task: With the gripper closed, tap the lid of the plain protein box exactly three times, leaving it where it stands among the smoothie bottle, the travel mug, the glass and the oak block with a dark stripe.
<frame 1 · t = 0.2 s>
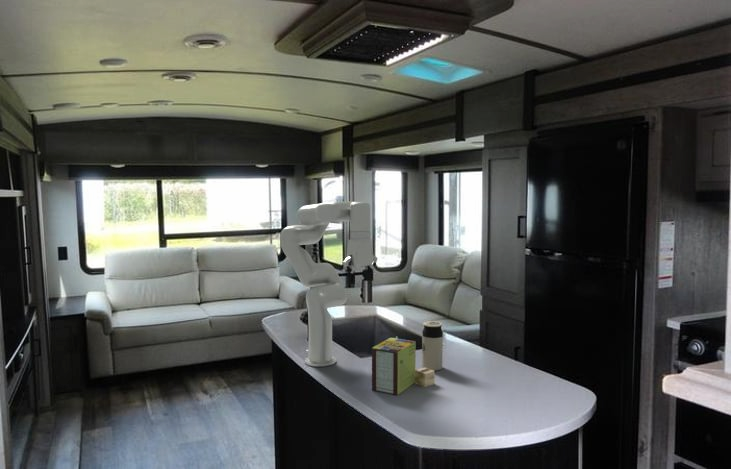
hand: (360, 282, 202), 37 cm above the kitchen island counter, tool pointing down, fingers open, 9 cm apart
striped oak block: (424, 383, 201), on the kitchen island counter
smoothie: (395, 372, 213), on the kitchen island counter
travel mug: (432, 368, 218), on the kitchen island counter
protein box: (393, 386, 198), on the kitchen island counter
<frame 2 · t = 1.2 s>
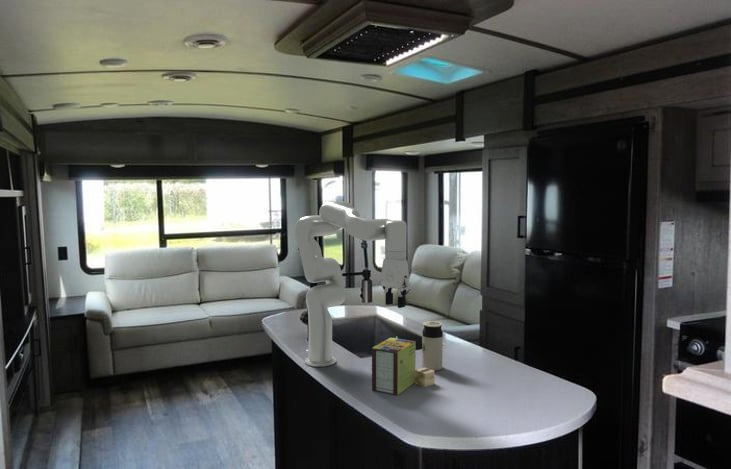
hand: (395, 305, 195), 30 cm above the kitchen island counter, tool pointing down, fingers open, 5 cm apart
nothing on the kitchen island counter moved.
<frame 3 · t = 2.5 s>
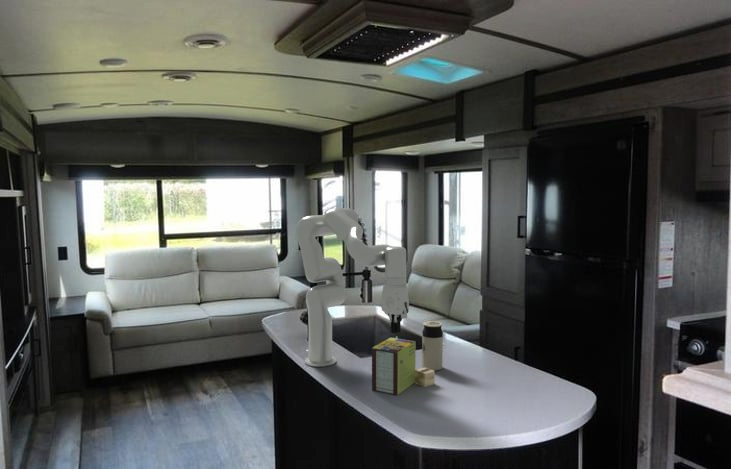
hand: (395, 332, 196), 20 cm above the kitchen island counter, tool pointing down, fingers closed
nothing on the kitchen island counter moved.
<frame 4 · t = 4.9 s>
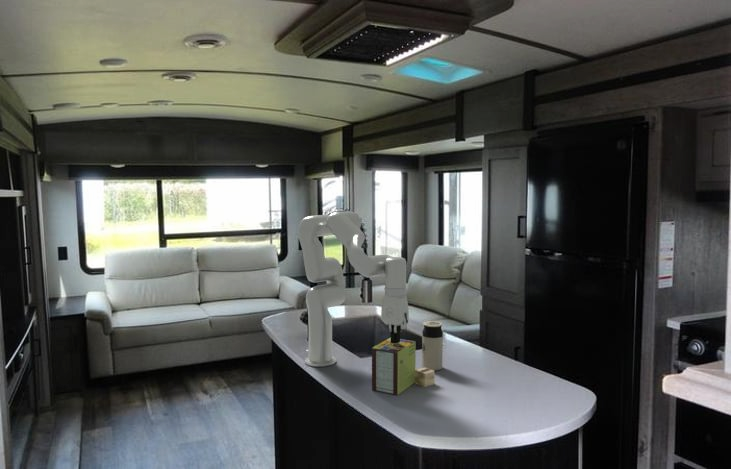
hand: (395, 342, 196), 16 cm above the kitchen island counter, tool pointing down, fingers closed
nothing on the kitchen island counter moved.
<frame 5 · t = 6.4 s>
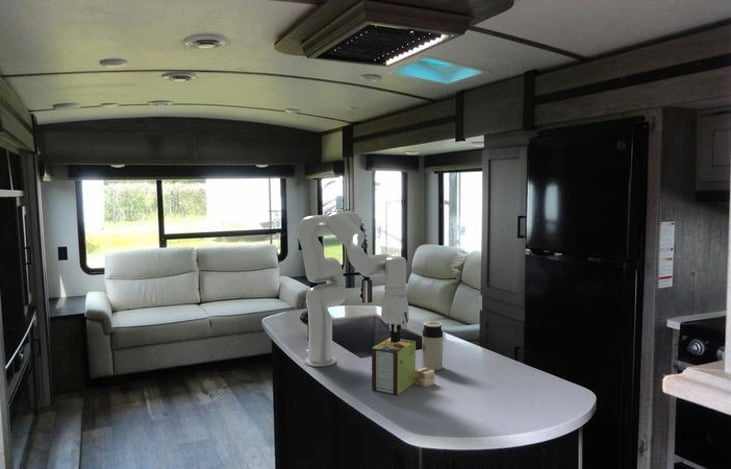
hand: (395, 341, 196), 16 cm above the kitchen island counter, tool pointing down, fingers closed
nothing on the kitchen island counter moved.
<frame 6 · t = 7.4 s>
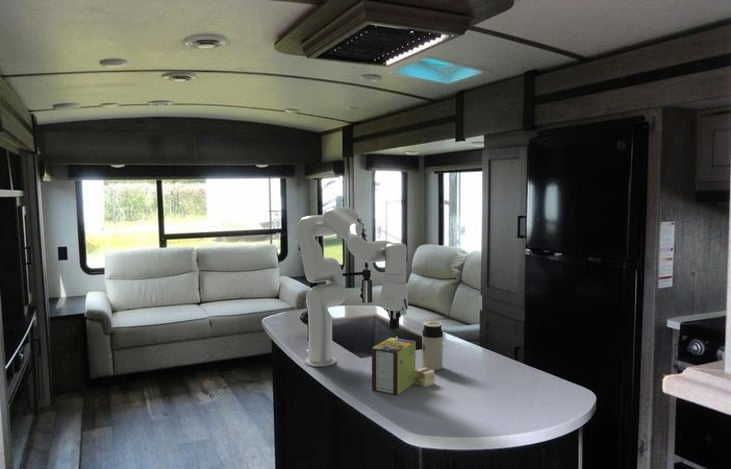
hand: (394, 328, 196), 21 cm above the kitchen island counter, tool pointing down, fingers closed
nothing on the kitchen island counter moved.
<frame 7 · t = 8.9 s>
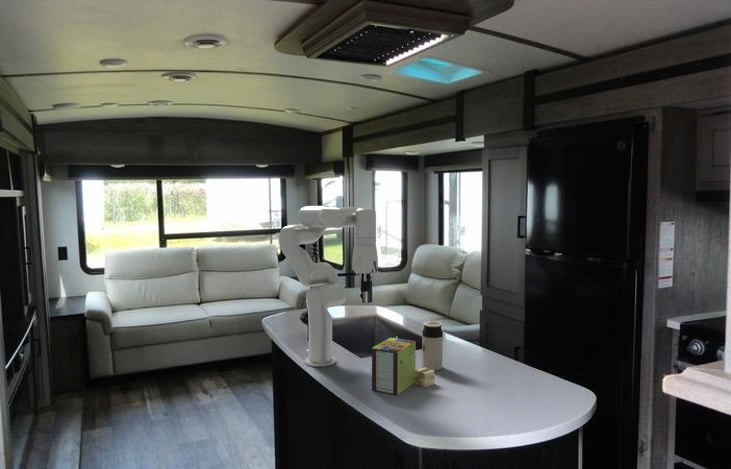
hand: (365, 291, 203), 33 cm above the kitchen island counter, tool pointing down, fingers closed
nothing on the kitchen island counter moved.
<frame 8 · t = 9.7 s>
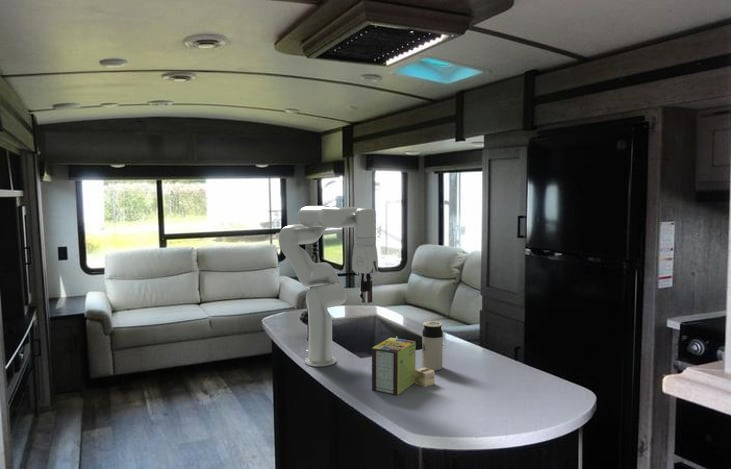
hand: (365, 291, 203), 33 cm above the kitchen island counter, tool pointing down, fingers closed
nothing on the kitchen island counter moved.
at the end: protein box moved 0.4 cm from its start; protein box tilted 0°; the gripper is holding nothing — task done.
